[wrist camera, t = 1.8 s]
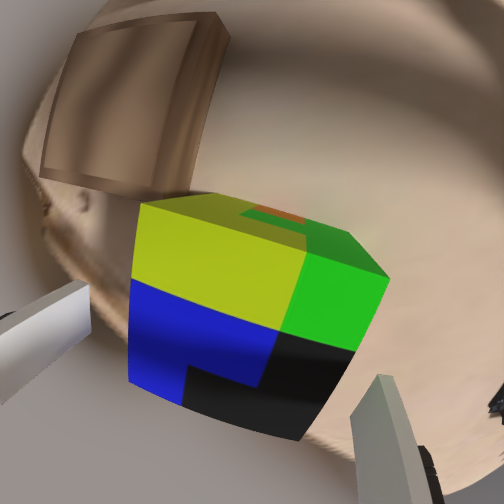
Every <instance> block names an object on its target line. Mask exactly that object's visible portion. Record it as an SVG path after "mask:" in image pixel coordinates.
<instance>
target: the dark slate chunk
mask: <svg viewBox="0 0 504 504" xmlns="http://www.w3.org/2000/svg"><path fill="white" fill-rule="evenodd" d="M489 408H491V409H490V411H489V412H488V413H492V412H500V413H501V416H502V425H504V385H503V386H502V388H501V389H500V391H499V392H498V393H497V394H496V396H495V397H494V399H493V400H492V401H491V403H490V404H489Z"/></svg>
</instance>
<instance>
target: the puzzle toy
mask: <svg viewBox="0 0 504 504" xmlns="http://www.w3.org/2000/svg"><path fill="white" fill-rule="evenodd" d="M389 281H390V278H389V277H388V276H387V274H386V273H385V272H384V271H383V270H382V269H381V267H380V266H379V265H378V264H377V263H376V262H375V261H374V259H373V258H372V257H371V256H370V255H369V254H368V253H367V252H366V251H365V249H364V248H363V247H362V246H361V245H360V244H359V243H358V242H357V241H356V240H355V239H354V237H353V236H352V235H351V234H350V233H349V232H346V231H343V230H340V229H337V228H334V227H331V226H328V225H325V224H322V223H318V222H315V221H312V220H309V219H306V218H302V217H299V216H296V215H293V214H289V213H286V212H283V211H279V210H276V209H272V208H269V207H266V206H262V205H259V204H255V203H251V202H248V201H244V200H241V199H237V198H233V197H230V196H226V195H222V194H218V193H210V194H202V195H194V196H186V197H179V198H171V199H164V200H158V201H151V202H145V203H141V206H140V212H139V218H138V225H137V232H136V239H135V247H134V255H133V265H132V275H131V287H130V302H129V323H128V377H129V378H128V379H129V382H130V383H133V384H135V385H137V386H138V387H140V388H142V389H144V390H146V391H149V392H151V393H153V394H155V395H157V396H159V397H161V398H164V399H166V400H168V401H171V402H173V403H175V404H177V405H180V406H183V407H185V408H187V409H190V410H192V411H195V412H198V413H200V414H203V415H206V416H208V417H211V418H214V419H217V420H220V421H223V422H226V423H229V424H232V425H236V426H239V427H242V428H245V429H249V430H252V431H256V432H260V433H264V434H268V435H272V436H276V437H280V438H285V439H289V440H294V441H300V439H301V438H302V437H303V435H304V434H305V433H306V431H307V430H308V428H309V427H310V426H311V424H312V423H313V421H314V420H315V418H316V417H317V415H318V414H319V412H320V411H321V409H322V408H323V406H324V405H325V403H326V402H327V400H328V399H329V397H330V395H331V394H332V392H333V391H334V389H335V387H336V386H337V384H338V382H339V381H340V379H341V377H342V376H343V374H344V372H345V370H346V369H347V367H348V365H349V363H350V362H351V360H352V358H353V356H354V354H355V352H356V351H357V349H358V347H359V345H360V343H361V341H362V339H363V337H364V335H365V333H366V331H367V329H368V327H369V325H370V323H371V321H372V319H373V317H374V315H375V313H376V310H377V308H378V306H379V304H380V302H381V299H382V297H383V295H384V292H385V290H386V288H387V285H388V283H389Z"/></svg>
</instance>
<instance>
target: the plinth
mask: <svg viewBox="0 0 504 504" xmlns="http://www.w3.org/2000/svg"><path fill="white" fill-rule="evenodd" d="M229 40H230V35H229V33H228V31H227V30H226V28H225V26H224V25H223V23H222V21H221V20H220V18H219V16H218V15H217V13H216V12H193V13H179V14H168V15H160V16H152V17H146V18H140V19H134V20H129V21H124V22H119V23H115V24H110V25H106V26H102V27H99V28H95V29H92V30H88V31H85V32H82V33H78V34H77V36H76V38H75V41H74V43H73V45H72V48H71V50H70V53H69V55H68V58H67V60H66V63H65V66H64V69H63V72H62V74H61V77H60V81H59V84H58V87H57V90H56V94H55V97H54V101H53V104H52V108H51V112H50V116H49V121H48V125H47V130H46V135H45V140H44V145H43V151H42V158H41V165H40V173H39V177H41V178H45V179H50V180H54V181H59V182H63V183H68V184H72V185H77V186H81V187H86V188H90V189H94V190H99V191H103V192H107V193H111V194H115V195H120V196H124V197H128V198H132V199H136V200H140V201H144V202H151V201H158V200H164V199H171V198H179V197H186V196H188V193H189V188H190V183H191V179H192V174H193V169H194V165H195V160H196V156H197V152H198V148H199V143H200V139H201V135H202V131H203V127H204V123H205V120H206V116H207V112H208V108H209V105H210V101H211V98H212V94H213V91H214V87H215V84H216V80H217V77H218V74H219V71H220V67H221V64H222V61H223V58H224V55H225V52H226V49H227V46H228V43H229Z"/></svg>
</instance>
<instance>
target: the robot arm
mask: <svg viewBox="0 0 504 504" xmlns="http://www.w3.org/2000/svg"><path fill="white" fill-rule="evenodd" d="M90 333H91V321H90V302H89V284H88V283H86V282H83V281H81V280H79V279H77V280H75V281H73V282H71V283H69V284H67V285H65V286H63V287H61V288H59V289H57V290H55V291H53V292H51V293H49V294H47V295H45V296H43V297H42V298H40V299H38V300H36V301H34V302H32V303H30V304H28V305H27V306H25V307H23V308H21V309H19V310H17V311H14V312H10V313H6V314H4V315H2V316H1V317H0V403H1V404H2V405H3V404H4V403H5V402H6V401H7V400H9V399H10V398H11V397H12V396H13V395H14V394H16V393H17V392H18V391H19V390H20V389H22V388H23V387H24V386H25V385H26V384H28V383H29V382H30V381H31V380H32V379H34V378H35V377H36V376H37V375H38V374H40V373H41V372H42V371H43V370H44V369H45V368H47V367H48V366H49V365H51V364H52V363H53V362H54V361H56V360H57V359H58V358H59V357H61V356H62V355H63V354H64V353H66V352H67V351H68V350H69V349H71V348H72V347H73V346H75V345H76V344H77V343H78V342H80V341H81V340H82V339H84V338H85V337H86V336H87V335H89V334H90ZM350 420H351V428H352V436H353V444H354V452H355V462H356V472H357V484H358V497H359V504H445V503H444V499H443V495H442V491H441V487H440V484H439V480H438V477H437V476H436V474H437V473H436V470H435V468H434V463H433V460H432V457H431V455H430V453H429V452H428V451H427V449H426V448H425V447H424V445H423V446H417V443H416V440H415V437H414V434H413V431H412V428H411V425H410V422H409V419H408V416H407V413H406V410H405V408H404V405H403V402H402V399H401V397H400V394H399V391H398V389H397V386H396V384H395V381H394V379H393V376H388V375H382V374H377V376H376V378H375V379H374V381H373V382H372V384H371V386H370V387H369V389H368V390H367V392H366V394H365V395H364V397H363V398H362V400H361V401H360V403H359V404H358V406H357V407H356V409H355V410H354V411H353V413H352V414H351V416H350Z"/></svg>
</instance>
